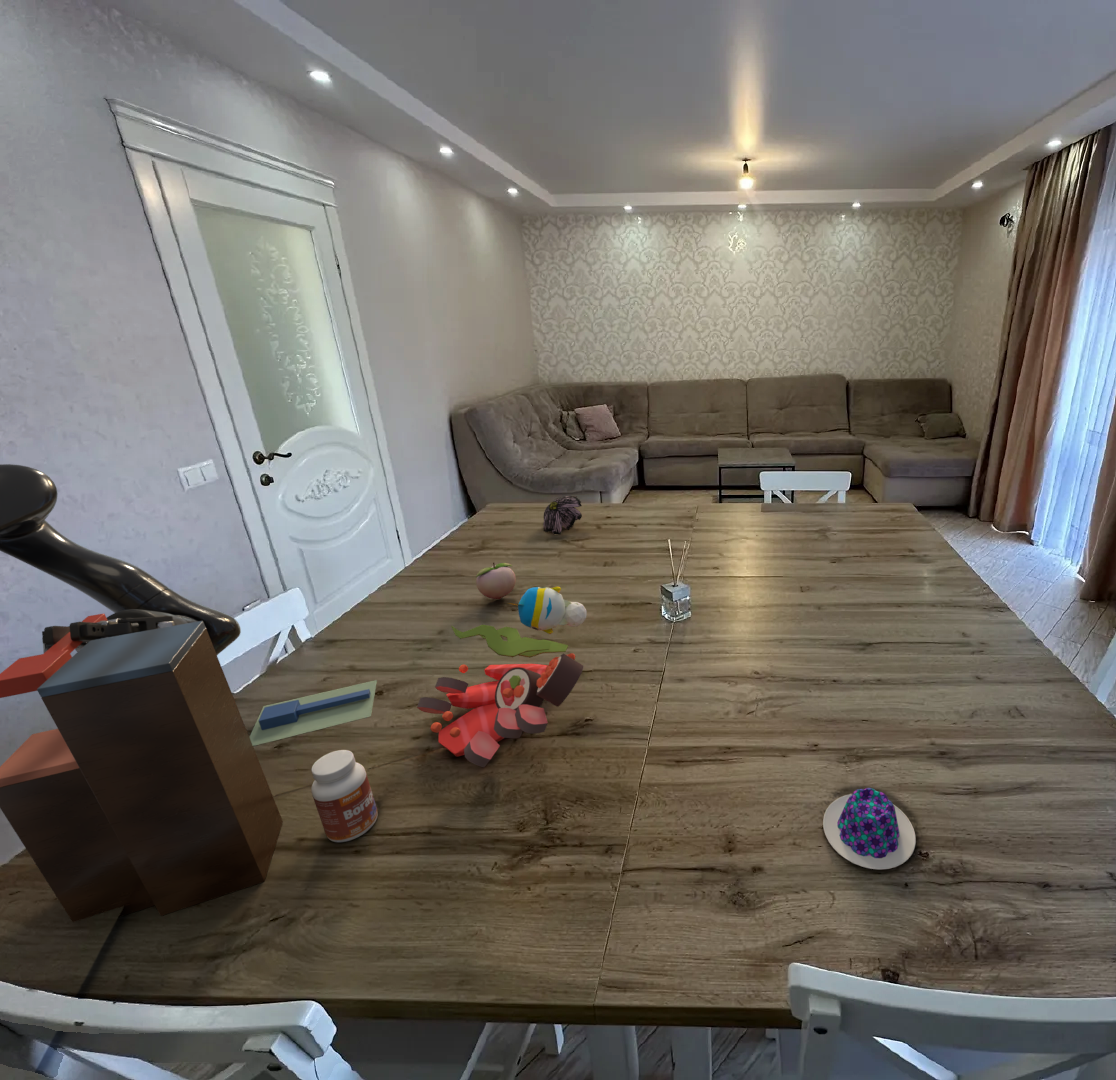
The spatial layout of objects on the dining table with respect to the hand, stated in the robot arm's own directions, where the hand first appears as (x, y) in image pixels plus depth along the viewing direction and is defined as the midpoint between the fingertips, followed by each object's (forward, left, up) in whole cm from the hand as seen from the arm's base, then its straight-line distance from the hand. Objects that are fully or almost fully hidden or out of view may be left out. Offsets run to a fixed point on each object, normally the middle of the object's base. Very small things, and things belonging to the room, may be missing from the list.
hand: (62, 633), depth 65 cm
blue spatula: (+15, +21, -31) cm, 40 cm away
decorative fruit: (+48, +53, -32) cm, 79 cm away
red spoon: (0, -1, -2) cm, 3 cm away
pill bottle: (+23, -10, -32) cm, 41 cm away
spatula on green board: (+14, +21, -31) cm, 40 cm away
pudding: (+86, -42, -32) cm, 101 cm away
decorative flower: (+72, +99, -32) cm, 127 cm away
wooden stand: (+5, -10, -31) cm, 33 cm away
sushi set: (+46, +6, -32) cm, 57 cm away
